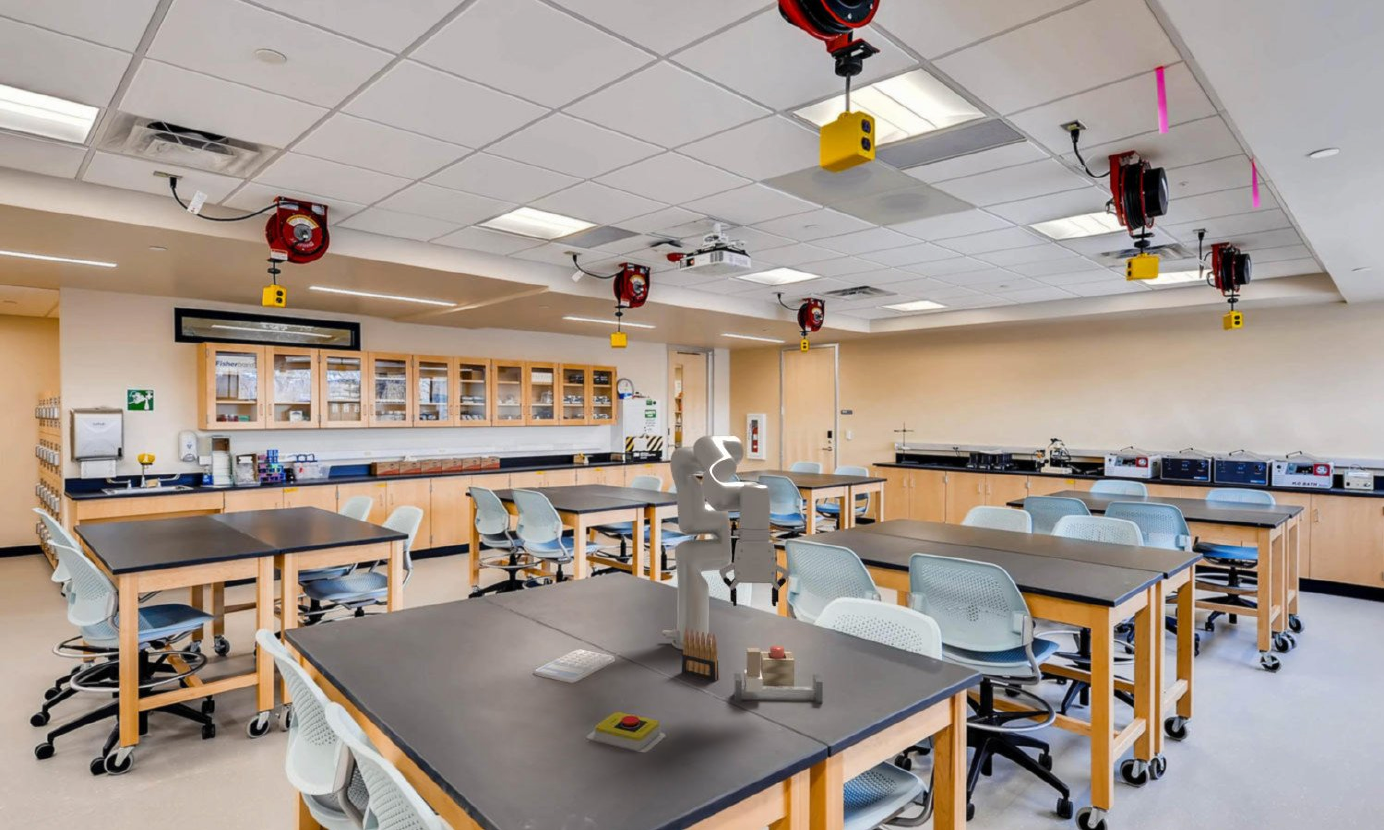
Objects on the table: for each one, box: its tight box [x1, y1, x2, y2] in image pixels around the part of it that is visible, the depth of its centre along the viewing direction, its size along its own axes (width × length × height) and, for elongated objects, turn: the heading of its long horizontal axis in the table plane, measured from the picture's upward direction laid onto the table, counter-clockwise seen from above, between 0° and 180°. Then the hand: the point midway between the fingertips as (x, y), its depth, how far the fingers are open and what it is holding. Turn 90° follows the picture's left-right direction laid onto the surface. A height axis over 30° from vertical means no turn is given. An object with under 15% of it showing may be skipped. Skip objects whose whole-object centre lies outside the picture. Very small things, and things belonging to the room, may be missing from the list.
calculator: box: [534, 648, 616, 684], centre depth 188 cm, size 13×20×2 cm, turn 153°
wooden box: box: [760, 651, 795, 687], centre depth 178 cm, size 8×6×7 cm
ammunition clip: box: [681, 628, 720, 683], centre depth 182 cm, size 11×2×12 cm, turn 56°
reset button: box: [769, 645, 785, 659], centre depth 178 cm, size 4×4×4 cm
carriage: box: [743, 647, 763, 692], centre depth 168 cm, size 4×6×9 cm, turn 0°
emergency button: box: [586, 711, 666, 753], centre depth 147 cm, size 9×4×15 cm
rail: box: [733, 672, 824, 704], centre depth 168 cm, size 21×5×5 cm, turn 90°
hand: (754, 604), depth 168 cm, fingers open, 9 cm apart
